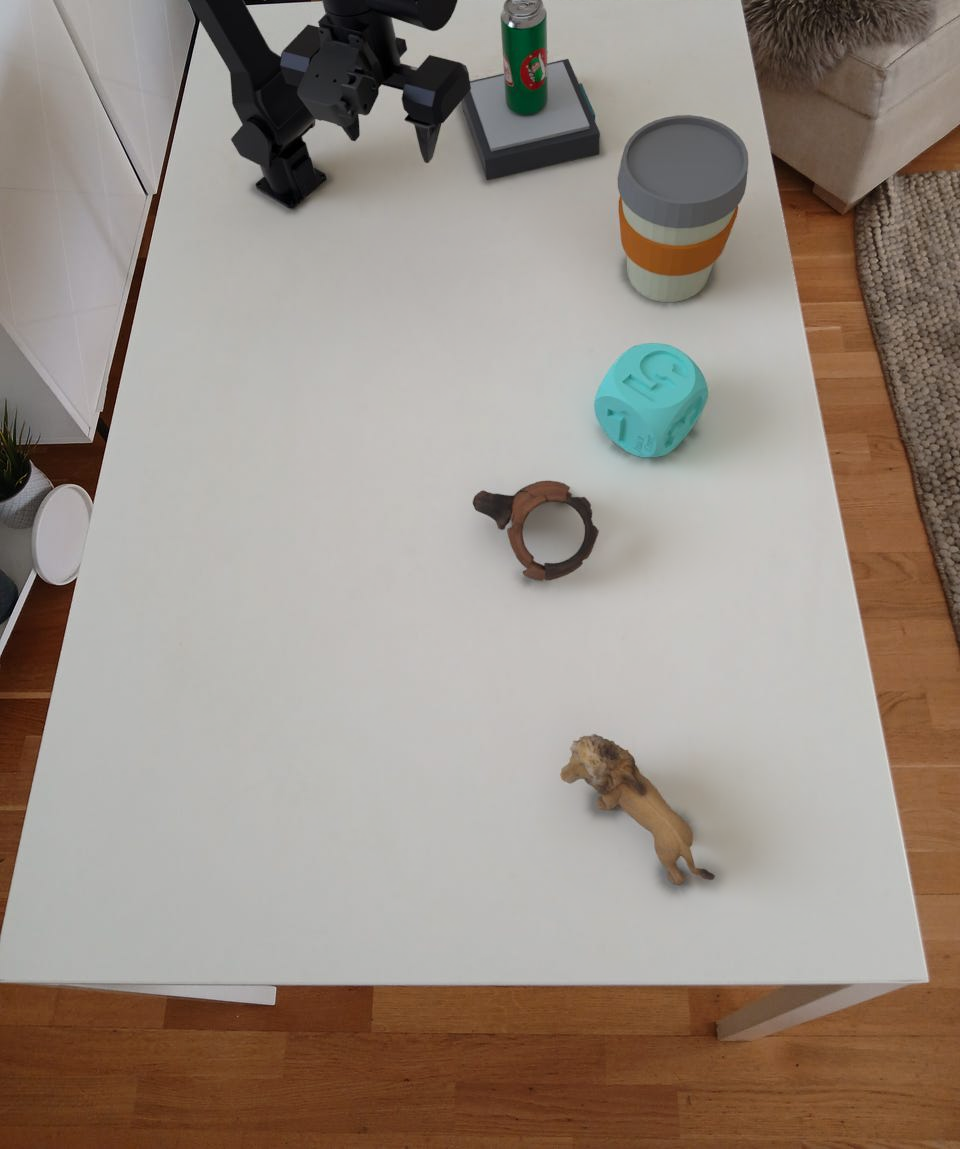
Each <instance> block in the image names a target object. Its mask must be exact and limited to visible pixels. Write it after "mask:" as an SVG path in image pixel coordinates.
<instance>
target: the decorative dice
mask: <svg viewBox="0 0 960 1149" xmlns="http://www.w3.org/2000/svg"><path fill="white" fill-rule="evenodd" d="M708 397H709V389H708V384H707V380H706V378H705V375H704V374H703V372H702V371H701V369H700V367H699V365H697V363H696V362H695V361H694V360H693V359H692V358H691V357H690V356H688V355H687V353H685V352H684V351H682V350H681V349H679V348H677V347H675V346H673V345H669V344H666V343H659V342H648V343H641V344H637V345H634V346H631V347H630V348H628V349H627V350H625V351H624V352H622V353H621V355H619V357H618V358H617V359H616V360H615V361H614V363H613V364H612V365H611V366H610V368H609V369H608V370H607V372H606V374H605V375H604V377H603V379H602V380H601V382H600V384H599V386H598V389H597V391H596V394H595V398H594V402H593V403H594V404H593V408H594V413H595V417H596V419H597V421H598V423H599V425H600V428H602V430H603V432H605V434H606V435H607V436H608V438H609V439H611V440H612V442H614V443H615V445H618V447H620V448H621V449H622V450H624V451H626V452H628V453H629V454H631V455H634V456H636V457H641V458H658V457H664V456H667V455H668V454H669V453H671V452H673V451H674V450H675V449H676V448H677V447H678V446H679V445H680V444H681V443H682V442H683V441H684V439H685V438H686V437H687V436H688V435H689V433H690V432H691V430H692V429H693V428H694V426H695V425H696V423H697V422H698V420H699V419H700V417H701V414H702V413H703V411H704V408H705V406H706V403H707V400H708Z"/></svg>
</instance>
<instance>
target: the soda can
mask: <svg viewBox="0 0 960 1149" xmlns="http://www.w3.org/2000/svg"><path fill="white" fill-rule="evenodd" d="M547 13H548V12H547V9H546V8H545V6H544V3H543V0H505V1H504V3H503V6H502V11H501V13H500V29H501V31H500V32H501V33H500V34H501V50H502V63H503V64H502V65H503V74H504V84H505V100H506V105H507V107H508V108H509V109H510V110H511V111H513V112H514V113H516V114H518V115H524V116H527V115H533V114H535V113H537V112H539V111H540V110H541V109H542V108H543V107H544V106H545V105H546V103H547V100H548V79H547V63H548V19H547V18H548V14H547Z"/></svg>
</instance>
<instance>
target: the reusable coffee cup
mask: <svg viewBox="0 0 960 1149" xmlns="http://www.w3.org/2000/svg"><path fill="white" fill-rule="evenodd" d="M748 170H749V151H748V149H747V147H746V144H745V142H744V141H743V139H742V138H741V137H740V136H739V135H738V134H737V133H736V131H734V130H733V129H732V128H730V127H729V126H727V125H726V124H724V123H722V122H720V121H717V120H715V119H713V118H709V117H704V116H701V115H692V114H679V115H677V114H676V115H672V116H671V115H670V116H665V117H661V118H659V119H654V120H653V121H651V122H649V123H646V124H645V125H643V126H642V127H640V128H639V129H637V130H636V131H634V133H633V134H632V135H631V136H630V137H629V139H628V140H627V141H626V144H625V145H624V148H623V152H622V155H621V160H620V165H619V170H618V175H617V189H618V193H619V198H618V218H619V219H618V220H619V231H620V241H621V246H622V249H623V251H624V253H625V257H626V258H625V259H626V272H627V277H628V280H629V282H630V285H631V286H632V287H633V288H634V290H635V291H636V292H638V293H639V294H640V295H642V296H643V297H644V298H647V299H650V300H653V301H656V302H661V303H662V302H663V303H675V302H681V301H682V302H683V301H685V300H688V299H690V298H692V297H694V296H696V295H697V294H698V293H699V292H701V291H702V290H703V288H704V287H705V286H706V284H707V282H708V280H709V277H710V275H711V272H712V271H713V270H712V269H713V267H714V264H715V263H716V261H717V260H718V259H719V258H720V256H722V254H723V252H724V250H725V247H726V244H727V243H728V239H729V238H730V234H731V232H732V229H733V227H734V224H735V222H736V220H737V216H738V211H739V204H740V203H741V202H742V201H743V200H742V199H743V198H744V196H745V194H746V188H747V181H748Z"/></svg>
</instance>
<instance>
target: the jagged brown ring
mask: <svg viewBox="0 0 960 1149" xmlns="http://www.w3.org/2000/svg"><path fill="white" fill-rule="evenodd" d="M570 489H571V487H570V486H569V485H567V484H566V483H564V482H561V481H555V480H540V481H535V482H533V483H531V484H528V485H526V486H524V487H522V488H520V489H518V491H517V492H516V493H515V494H514V495H510V494H502V493H492V492H490V491H486V490H484V489H482V490H480V491H479V492H477V493H476V494H474V496H473V499H472V505H473V507H474V508H473V509H474V510H475V511H476V512H478V513H481V514H483V515H486V516H487V517H490V518H491V519H492V520H494V522H495V524H496V525H497V527H498V529H499V530H501V531H504V530H505V529H506V532H507V533H506V534H507V537H508V540H509V545H510V547H511V549H512V551H513V554H514V555H515V557H516V559H517V560H518V561H519V563H520V564H521V565H522V566H523V567H524V568H525V570H523V571H522V575H523V576H524V577H526V578H529V579H531V580H534V581H541V582H542V581H543V580H545V581H552V580H557V579H559V578H560V579H561V578H562V577H565V576H568V575H569V574H572V573H573V572H575V571H577V569H579V568H580V567H582V566H583V564H584V561H585V560H587V559H588V558H589V557H590V555H591V553H592V551H593V549H594V546H595V544H596V541H597V538H598V537H599V532H600V530H599V529H598V527H596V526H595V525H594V523H593V519H592V518H593V510H592V503H591V502H590V501H589V499H587V498H586V497H585V496H581V497H580V496H573V494H572V493H571V492H570ZM547 503H561V504H566V505H568V506H569V507H571V508H572V509H574V510H575V511H576V512H577V513H578V515H579V516H580V518H581V520H582V522H583V526H584V536H583V541H582V543H581V545H580V547H579V548H578V550H576V552H575V553H574V554H573V555H572V556H570V557H569V558H567V559H565V560H562V561H559V562H544V564H541V563H539V562H536V561H535V557H534V555H533V554H532V553H531V552H530V551H529V549H528V548H527V546H526V544H525V541H524V534H523V532H524V524H525V522H526V520H527V519H528V517H529V515H530V514H531V513H532V512H533V511H534V510H535V509H536V508H538V507H540V506H541V505H544V504H547ZM510 523H511V526H510V527H508V528H506V526H508V525H509V524H510Z"/></svg>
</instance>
